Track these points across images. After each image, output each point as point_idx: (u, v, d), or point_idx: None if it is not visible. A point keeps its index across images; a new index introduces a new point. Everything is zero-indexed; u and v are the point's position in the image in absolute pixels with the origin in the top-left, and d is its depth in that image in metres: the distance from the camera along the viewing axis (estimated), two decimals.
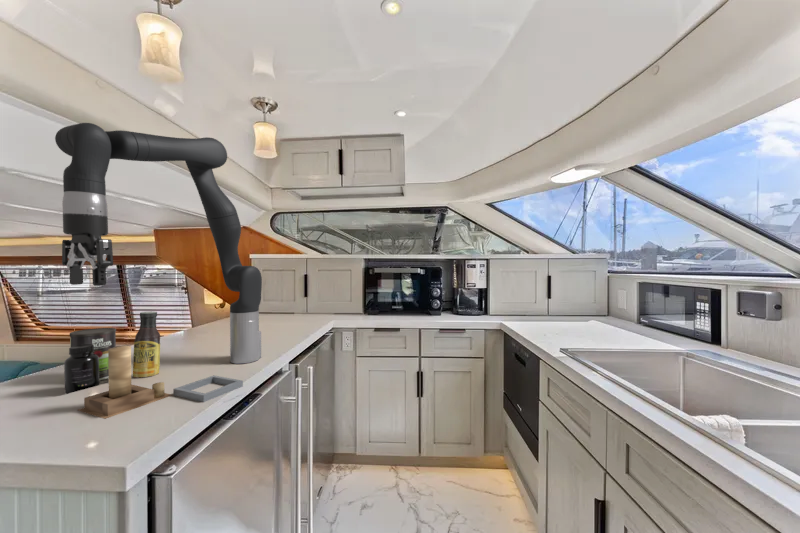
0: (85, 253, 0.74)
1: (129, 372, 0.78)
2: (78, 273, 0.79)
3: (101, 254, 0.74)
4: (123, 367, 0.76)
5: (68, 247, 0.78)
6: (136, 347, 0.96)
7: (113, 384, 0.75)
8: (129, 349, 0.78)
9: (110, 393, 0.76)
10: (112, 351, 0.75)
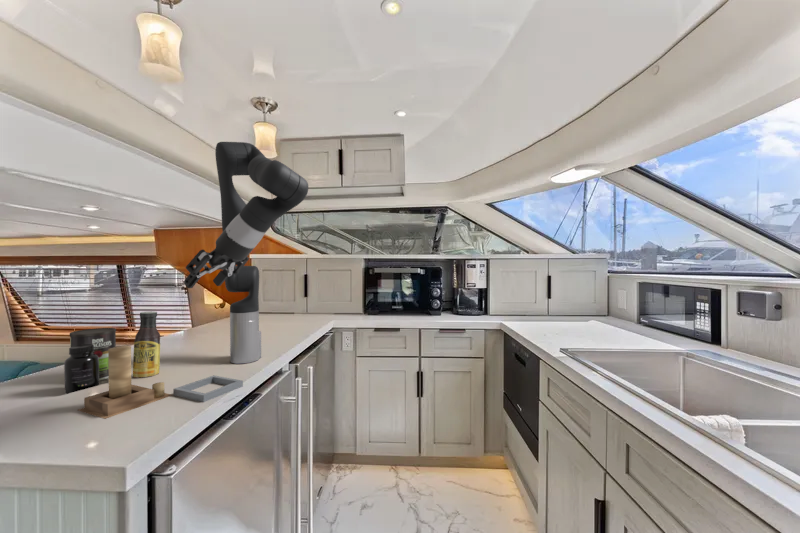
0: (232, 268, 0.84)
1: (129, 372, 0.78)
2: None
3: None
4: (123, 367, 0.76)
5: None
6: (136, 347, 0.96)
7: (113, 384, 0.75)
8: (129, 349, 0.78)
9: (110, 393, 0.76)
10: (112, 351, 0.75)
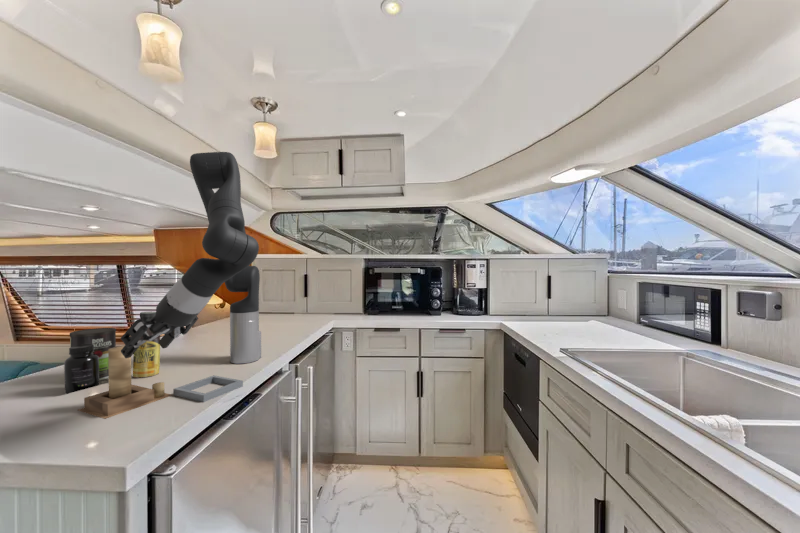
0: (178, 331, 0.77)
1: (129, 372, 0.78)
2: None
3: None
4: (123, 367, 0.76)
5: None
6: None
7: (113, 384, 0.75)
8: None
9: (110, 393, 0.76)
10: (112, 351, 0.75)
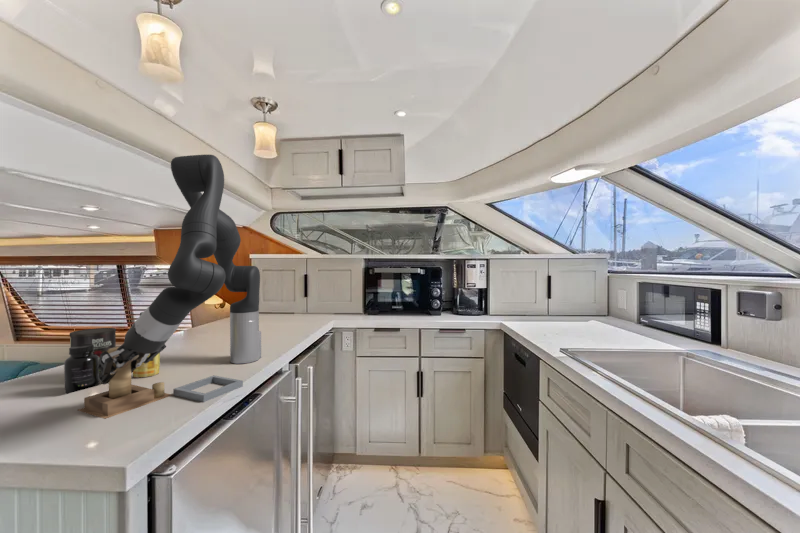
0: (144, 359, 0.78)
1: (129, 372, 0.78)
2: None
3: None
4: None
5: None
6: None
7: (113, 384, 0.75)
8: None
9: (110, 393, 0.76)
10: (112, 351, 0.75)
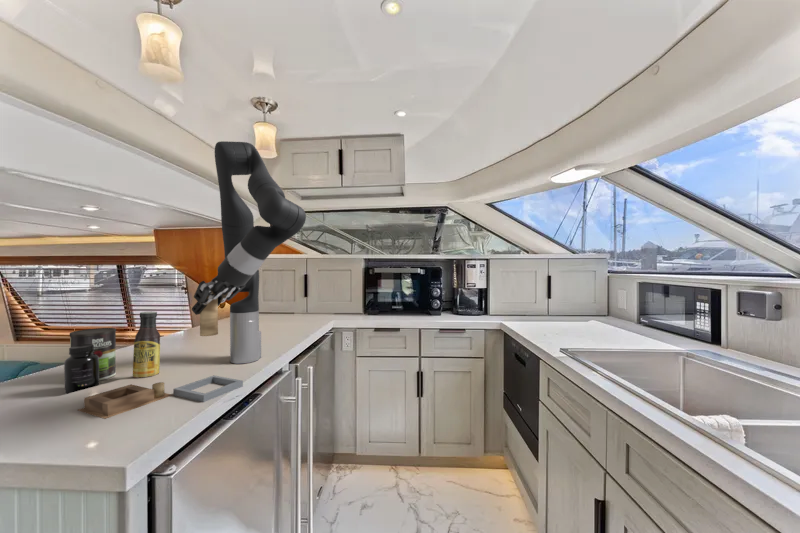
0: (229, 294, 0.87)
1: (217, 306, 0.86)
2: None
3: None
4: (213, 300, 0.85)
5: None
6: (136, 347, 0.96)
7: (205, 314, 0.84)
8: None
9: (202, 323, 0.84)
10: None
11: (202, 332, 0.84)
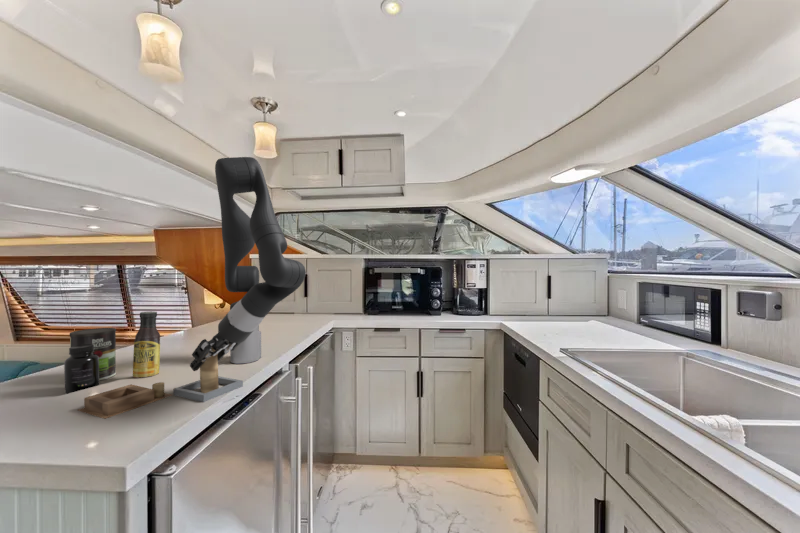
0: (231, 347, 0.87)
1: (217, 364, 0.86)
2: None
3: None
4: (213, 359, 0.85)
5: None
6: (136, 347, 0.96)
7: (205, 375, 0.84)
8: None
9: (202, 383, 0.84)
10: None
11: None
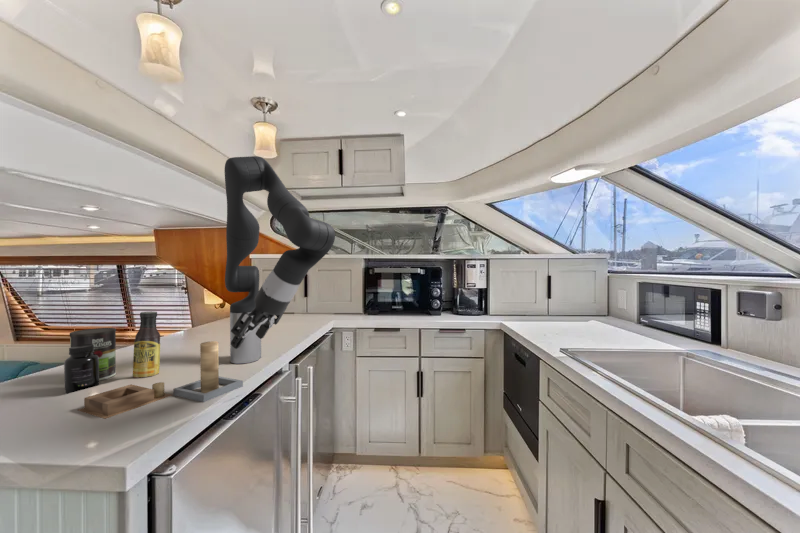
0: (273, 321, 0.85)
1: (217, 365, 0.86)
2: None
3: None
4: (213, 360, 0.85)
5: None
6: (136, 347, 0.96)
7: (206, 375, 0.84)
8: (217, 344, 0.86)
9: (202, 383, 0.84)
10: (204, 346, 0.84)
11: None
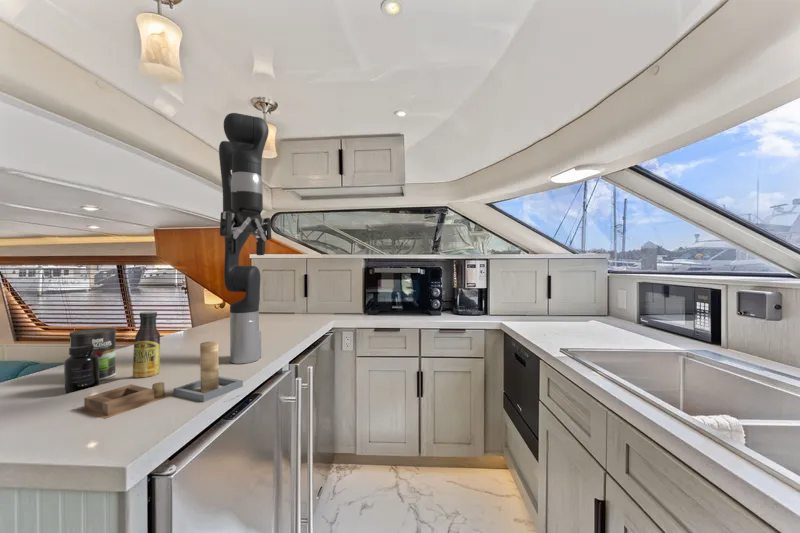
0: (261, 228, 0.90)
1: (217, 365, 0.86)
2: None
3: None
4: (213, 360, 0.85)
5: None
6: (136, 347, 0.96)
7: (206, 375, 0.84)
8: (217, 344, 0.86)
9: (202, 383, 0.84)
10: (204, 346, 0.84)
11: None
